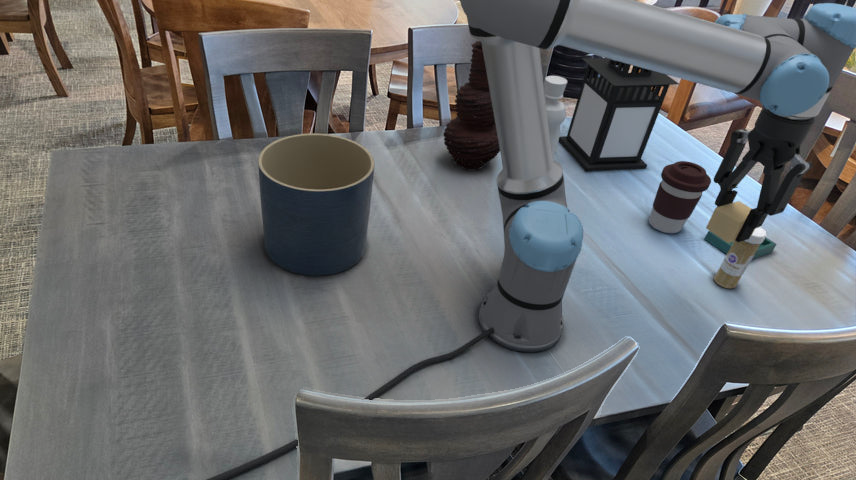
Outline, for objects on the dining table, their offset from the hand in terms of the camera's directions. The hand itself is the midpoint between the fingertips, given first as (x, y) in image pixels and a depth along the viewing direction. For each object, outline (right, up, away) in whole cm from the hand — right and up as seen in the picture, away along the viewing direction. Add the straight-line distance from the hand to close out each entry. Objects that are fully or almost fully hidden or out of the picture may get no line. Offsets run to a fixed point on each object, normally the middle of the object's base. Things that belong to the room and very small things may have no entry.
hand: (728, 230), depth 114 cm
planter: (-76, -2, +19) cm, 79 cm away
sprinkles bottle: (+9, -10, +17) cm, 21 cm away
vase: (-38, +22, +50) cm, 67 cm away
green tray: (+18, -1, +27) cm, 32 cm away
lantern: (-1, +25, +57) cm, 63 cm away
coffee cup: (+4, +4, +32) cm, 32 cm away
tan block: (0, 0, 0) cm, 0 cm away
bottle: (-27, +10, +37) cm, 47 cm away
